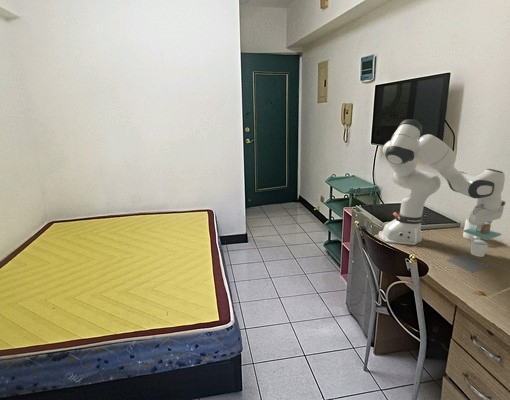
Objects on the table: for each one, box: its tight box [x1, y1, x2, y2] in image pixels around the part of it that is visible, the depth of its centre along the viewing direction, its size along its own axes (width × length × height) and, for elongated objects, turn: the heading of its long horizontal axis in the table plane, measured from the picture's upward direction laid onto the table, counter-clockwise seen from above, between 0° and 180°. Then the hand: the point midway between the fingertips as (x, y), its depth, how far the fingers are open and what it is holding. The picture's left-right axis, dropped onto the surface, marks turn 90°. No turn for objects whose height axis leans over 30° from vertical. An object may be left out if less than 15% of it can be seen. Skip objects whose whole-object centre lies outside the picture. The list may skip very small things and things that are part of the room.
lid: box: [463, 222, 502, 241], centre depth 158 cm, size 11×11×5 cm
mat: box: [445, 254, 490, 274], centre depth 153 cm, size 13×13×1 cm
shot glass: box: [470, 239, 489, 258], centre depth 161 cm, size 7×7×7 cm
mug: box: [462, 217, 481, 241], centre depth 178 cm, size 12×8×10 cm
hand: (482, 229), depth 158 cm, fingers closed on lid, 4 cm apart
